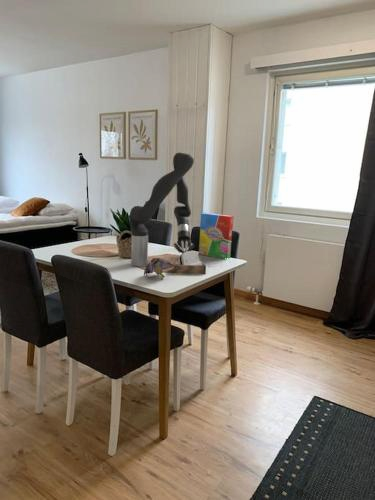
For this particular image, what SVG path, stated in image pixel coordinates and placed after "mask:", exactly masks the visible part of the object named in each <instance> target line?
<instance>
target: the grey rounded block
mask: <svg viewBox="0 0 375 500" xmlns="http://www.w3.org/2000/svg"><path fill="white" fill-rule="evenodd" d="M177 261H178V265H202V262H203V261H201V259H200V257H199V253H198V252H197V251H194V250H191V251H188V252H185V251H184V253H181V254H180V255H178V257H177Z"/></svg>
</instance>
